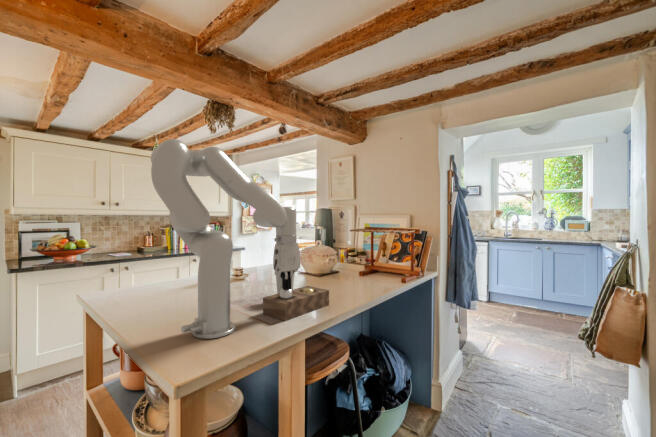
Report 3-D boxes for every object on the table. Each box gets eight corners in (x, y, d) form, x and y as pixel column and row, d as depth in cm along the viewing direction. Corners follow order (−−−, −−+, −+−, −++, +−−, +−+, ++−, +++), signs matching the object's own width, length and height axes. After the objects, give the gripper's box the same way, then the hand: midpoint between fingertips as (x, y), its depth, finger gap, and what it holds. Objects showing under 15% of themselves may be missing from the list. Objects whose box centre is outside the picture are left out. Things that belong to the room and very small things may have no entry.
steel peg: (285, 307, 106) (285, 291, 106) (277, 304, 109) (277, 289, 109) (294, 304, 109) (294, 289, 109) (286, 302, 112) (286, 287, 112)
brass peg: (308, 305, 115) (308, 291, 115) (300, 303, 118) (300, 289, 118) (315, 303, 118) (315, 289, 118) (307, 301, 121) (307, 287, 121)
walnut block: (284, 321, 100) (284, 303, 100) (262, 313, 108) (262, 297, 108) (329, 305, 119) (329, 290, 119) (307, 299, 127) (307, 285, 127)
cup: (293, 304, 120) (293, 275, 120) (273, 304, 120) (273, 275, 120) (295, 298, 128) (295, 271, 128) (277, 298, 128) (277, 271, 128)
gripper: (277, 242, 101) (278, 295, 101) (307, 239, 112) (307, 286, 112) (263, 241, 105) (264, 291, 106) (293, 238, 117) (294, 283, 117)
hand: (286, 288), depth 109 cm, fingers closed
